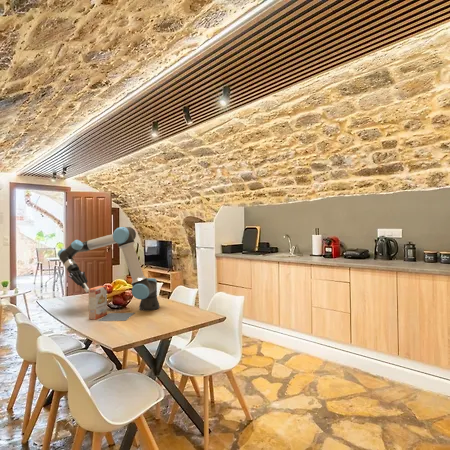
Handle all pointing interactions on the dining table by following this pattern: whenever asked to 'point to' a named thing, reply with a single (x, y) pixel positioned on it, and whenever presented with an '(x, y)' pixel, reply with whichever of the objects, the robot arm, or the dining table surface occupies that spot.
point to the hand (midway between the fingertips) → (87, 291)
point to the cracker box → (97, 302)
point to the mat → (116, 317)
